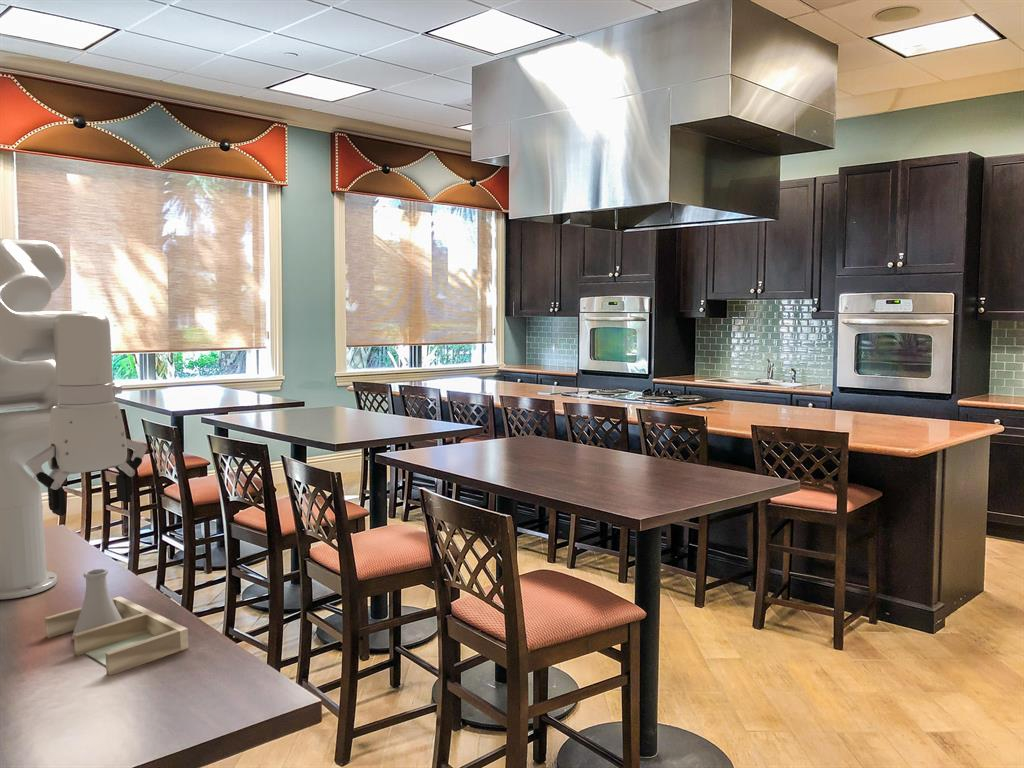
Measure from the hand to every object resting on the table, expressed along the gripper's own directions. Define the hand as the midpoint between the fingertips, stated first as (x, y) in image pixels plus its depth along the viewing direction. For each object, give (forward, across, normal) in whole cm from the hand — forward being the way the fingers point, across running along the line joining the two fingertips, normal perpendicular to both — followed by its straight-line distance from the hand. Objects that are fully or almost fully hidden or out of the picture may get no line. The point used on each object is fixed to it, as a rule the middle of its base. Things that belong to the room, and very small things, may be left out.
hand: (92, 507), depth 126 cm
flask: (+20, 0, 0) cm, 20 cm away
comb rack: (+20, 0, +5) cm, 21 cm away
